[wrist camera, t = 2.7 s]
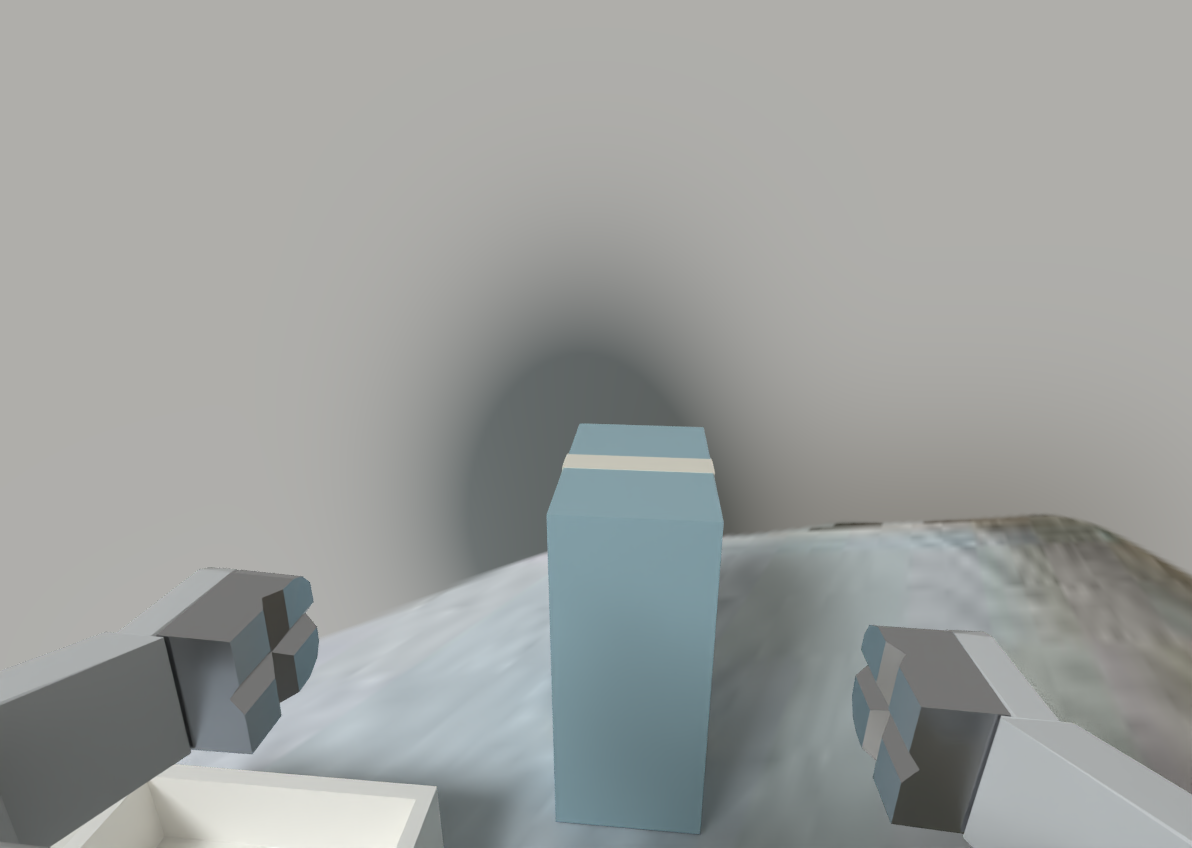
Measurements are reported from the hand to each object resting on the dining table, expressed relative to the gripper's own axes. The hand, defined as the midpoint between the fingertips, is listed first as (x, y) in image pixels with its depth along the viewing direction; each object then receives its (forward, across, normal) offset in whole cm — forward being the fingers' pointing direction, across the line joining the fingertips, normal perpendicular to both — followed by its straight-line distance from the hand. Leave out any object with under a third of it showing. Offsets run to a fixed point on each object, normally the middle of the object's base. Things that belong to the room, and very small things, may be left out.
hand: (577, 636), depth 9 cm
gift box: (+12, -1, +14) cm, 19 cm away
